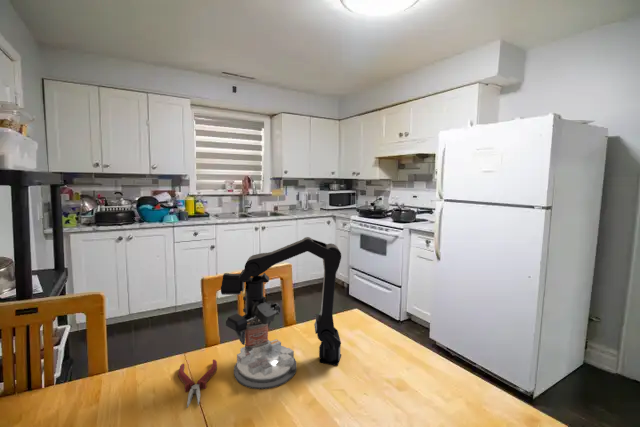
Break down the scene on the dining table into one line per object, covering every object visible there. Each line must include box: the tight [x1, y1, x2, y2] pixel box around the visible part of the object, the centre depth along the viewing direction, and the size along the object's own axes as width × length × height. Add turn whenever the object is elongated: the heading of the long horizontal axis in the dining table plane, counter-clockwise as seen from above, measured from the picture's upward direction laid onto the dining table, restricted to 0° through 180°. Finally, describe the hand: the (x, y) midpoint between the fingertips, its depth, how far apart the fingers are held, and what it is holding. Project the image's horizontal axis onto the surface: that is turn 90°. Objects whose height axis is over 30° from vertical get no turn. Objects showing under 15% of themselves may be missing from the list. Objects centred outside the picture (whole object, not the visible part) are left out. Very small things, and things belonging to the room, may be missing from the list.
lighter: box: [244, 317, 269, 349], centre depth 106 cm, size 8×3×10 cm, turn 121°
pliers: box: [177, 359, 218, 409], centre depth 94 cm, size 12×20×3 cm, turn 17°
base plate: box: [233, 357, 298, 390], centre depth 103 cm, size 20×20×1 cm
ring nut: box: [236, 338, 295, 382], centre depth 102 cm, size 18×18×4 cm
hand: (254, 338), depth 106 cm, fingers open, 9 cm apart
